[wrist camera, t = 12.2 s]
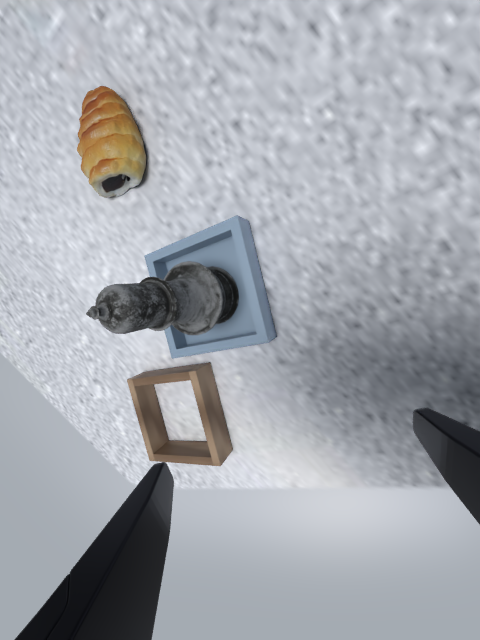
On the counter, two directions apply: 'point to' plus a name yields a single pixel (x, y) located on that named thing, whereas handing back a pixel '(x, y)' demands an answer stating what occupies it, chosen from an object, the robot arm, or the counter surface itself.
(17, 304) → the counter surface
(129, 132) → the pastry
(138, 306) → the grey stone chess piece
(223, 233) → the slate tray
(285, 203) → the counter surface
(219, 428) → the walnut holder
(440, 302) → the counter surface
